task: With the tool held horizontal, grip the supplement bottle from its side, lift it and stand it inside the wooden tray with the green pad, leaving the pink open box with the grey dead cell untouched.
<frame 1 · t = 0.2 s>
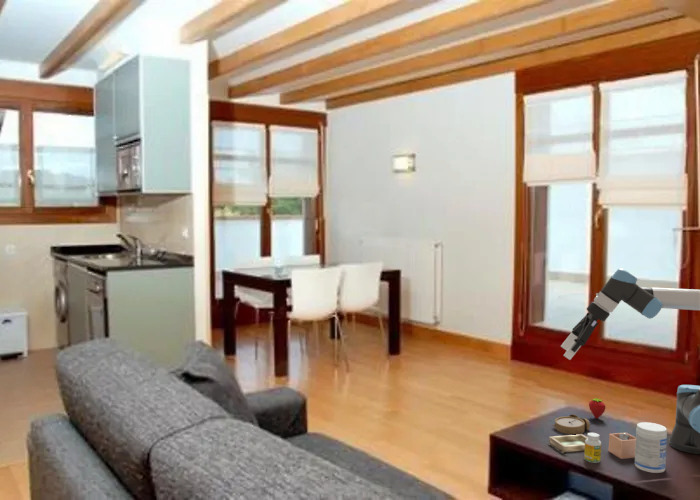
hand: (565, 353, 236), 35 cm above the table, tool tilted 35°, fingers open, 13 cm apart
dead cell: (623, 454, 231), point 1 cm above the table, touching pink open box
pink open box: (623, 455, 231), on the table
supplement bottle: (592, 461, 225), on the table
supplement tub: (649, 469, 220), on the table
alarm clock: (572, 429, 257), on the table
strawberry: (596, 419, 270), on the table
wooden tray: (573, 446, 238), on the table
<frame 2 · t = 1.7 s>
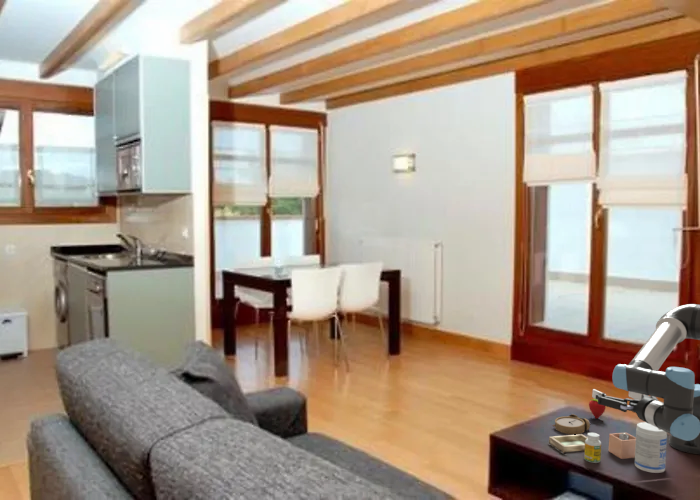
hand: (611, 392, 215), 27 cm above the table, tool horizontal, fingers open, 13 cm apart
nothing on the table moved.
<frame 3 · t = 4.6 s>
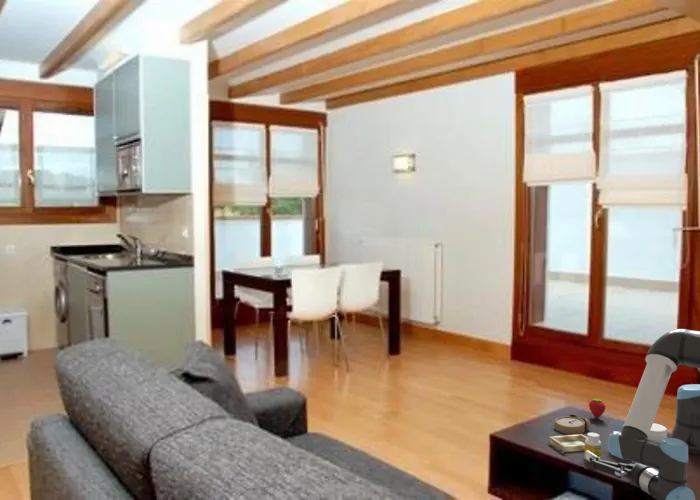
hand: (604, 452, 218), 6 cm above the table, tool horizontal, fingers open, 13 cm apart
nothing on the table moved.
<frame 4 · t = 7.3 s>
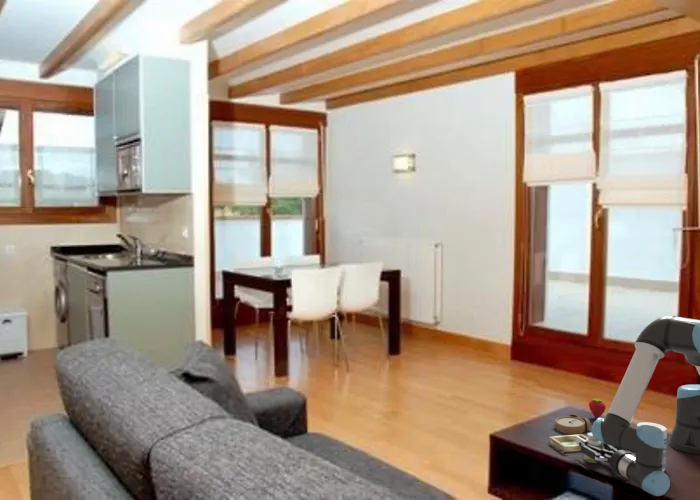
hand: (584, 438, 230), 6 cm above the table, tool horizontal, fingers closed on supplement bottle, 5 cm apart
supplement bottle: (592, 461, 225), on the table, touching gripper
everything else where it was.
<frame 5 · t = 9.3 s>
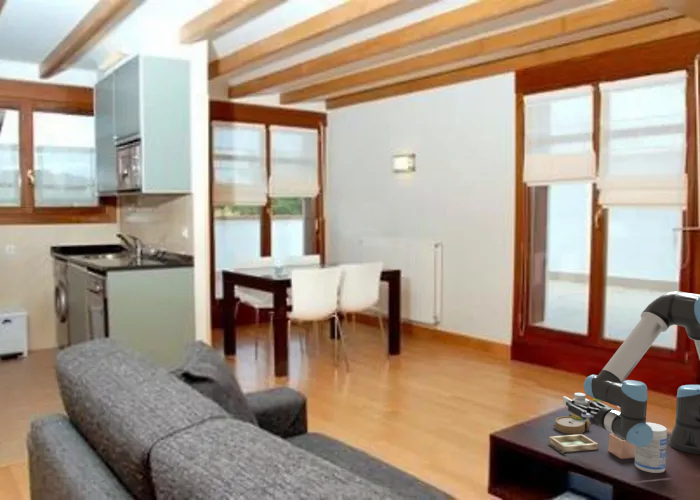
hand: (570, 399, 238), 18 cm above the table, tool horizontal, fingers closed on supplement bottle, 5 cm apart
supplement bottle: (578, 420, 233), point 11 cm above the table, touching gripper
everything else where it was.
when the fingers open (8 cm above the table, at t = 11.8 s): supplement bottle drops 1 cm, resting on wooden tray.
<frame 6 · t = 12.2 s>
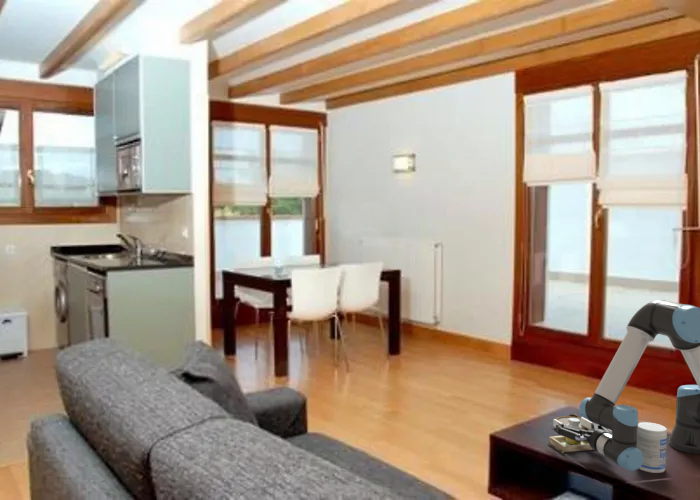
hand: (567, 421, 241), 8 cm above the table, tool horizontal, fingers open, 11 cm apart
supplement bottle: (573, 445, 238), point 1 cm above the table, touching wooden tray
everything else where it was.
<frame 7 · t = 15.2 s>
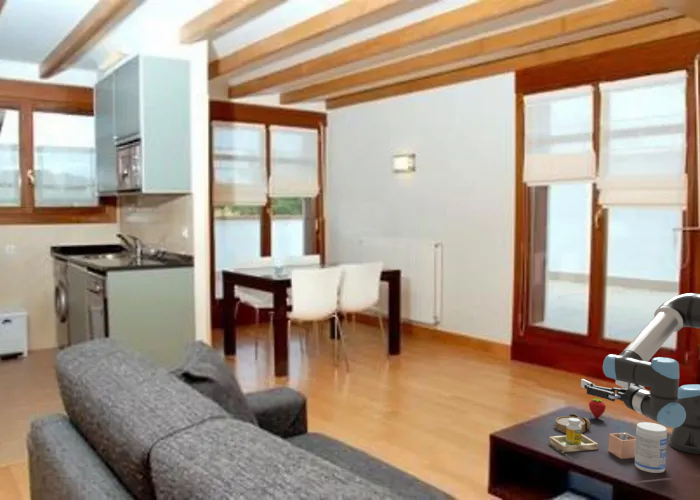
hand: (599, 381, 223), 29 cm above the table, tool horizontal, fingers open, 13 cm apart
nothing on the table moved.
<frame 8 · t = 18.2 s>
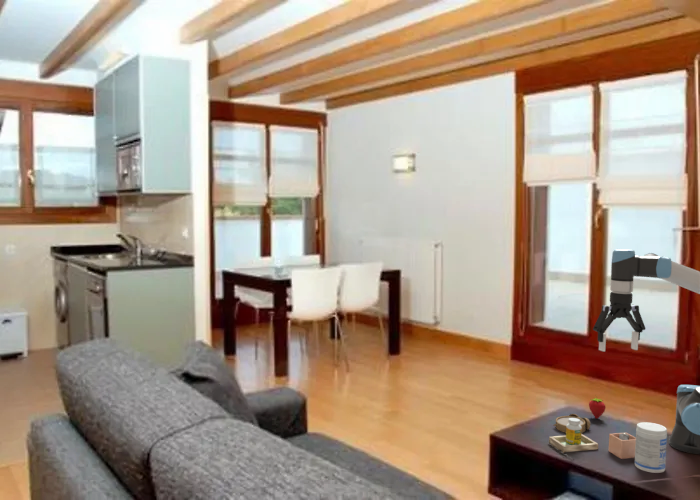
hand: (618, 350, 235), 37 cm above the table, tool pointing down, fingers open, 13 cm apart
nothing on the table moved.
at the end: supplement bottle inside the target area on the wooden tray (0.1 cm from its centre), point 0.6 cm above the wooden tray's base; supplement bottle tilted 0°; the gripper is holding nothing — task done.
